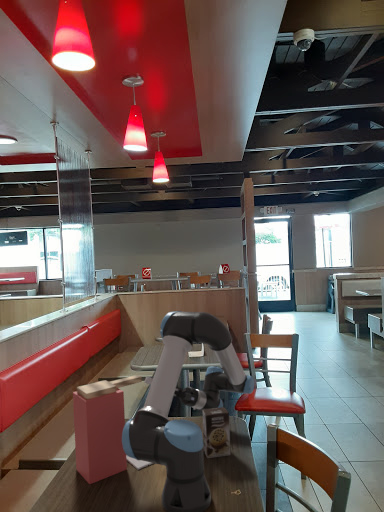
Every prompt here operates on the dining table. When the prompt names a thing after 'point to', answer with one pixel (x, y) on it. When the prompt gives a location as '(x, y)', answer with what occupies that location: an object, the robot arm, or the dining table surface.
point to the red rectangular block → (99, 435)
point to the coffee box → (216, 432)
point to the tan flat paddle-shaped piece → (106, 387)
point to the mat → (138, 462)
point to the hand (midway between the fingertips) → (154, 383)
